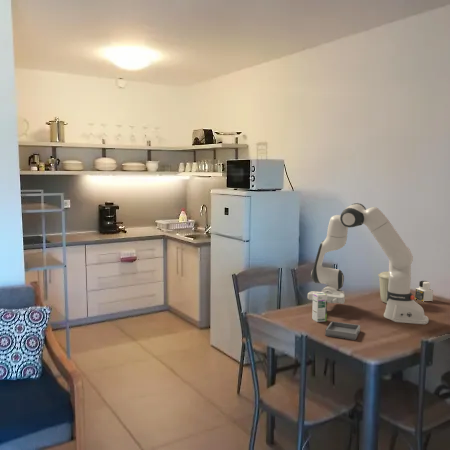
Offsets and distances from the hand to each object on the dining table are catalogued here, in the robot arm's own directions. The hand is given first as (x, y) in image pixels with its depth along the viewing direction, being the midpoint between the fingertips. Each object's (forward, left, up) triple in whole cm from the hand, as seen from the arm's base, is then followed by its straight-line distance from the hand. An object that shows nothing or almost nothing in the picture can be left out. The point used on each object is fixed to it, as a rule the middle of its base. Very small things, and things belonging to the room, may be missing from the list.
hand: (323, 300), depth 251 cm
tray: (-15, +23, -9) cm, 29 cm away
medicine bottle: (-49, -60, -9) cm, 78 cm away
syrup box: (0, +8, -9) cm, 12 cm away
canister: (-32, -46, -9) cm, 57 cm away
